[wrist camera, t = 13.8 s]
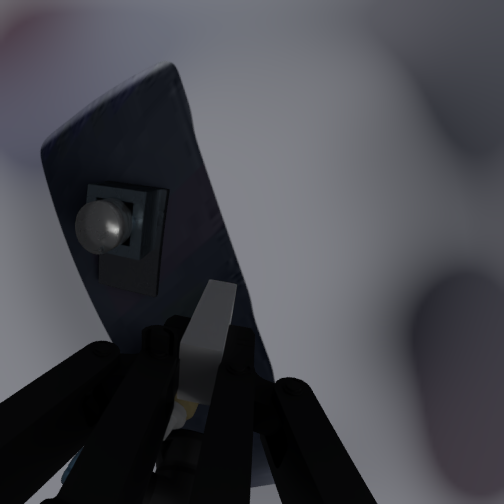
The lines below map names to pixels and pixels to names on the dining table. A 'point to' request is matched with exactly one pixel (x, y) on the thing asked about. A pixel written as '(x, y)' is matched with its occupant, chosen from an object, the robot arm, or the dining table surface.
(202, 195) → the dining table surface
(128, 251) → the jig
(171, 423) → the squeeze bottle
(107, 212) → the dark grey round knob
